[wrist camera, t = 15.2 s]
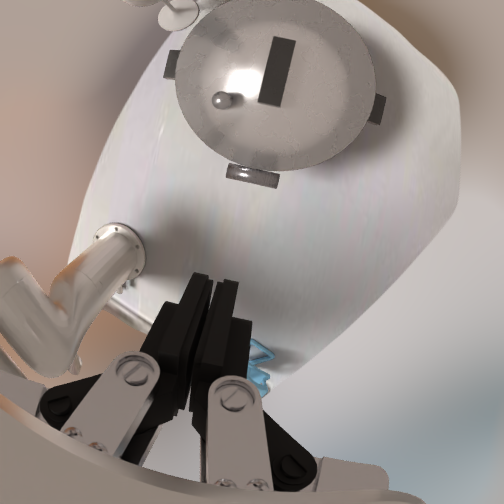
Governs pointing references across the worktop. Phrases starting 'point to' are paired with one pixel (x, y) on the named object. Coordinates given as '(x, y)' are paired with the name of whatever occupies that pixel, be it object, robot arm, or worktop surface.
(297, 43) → the lid
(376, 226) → the worktop surface
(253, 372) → the light blue angular piece
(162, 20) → the wineglass
